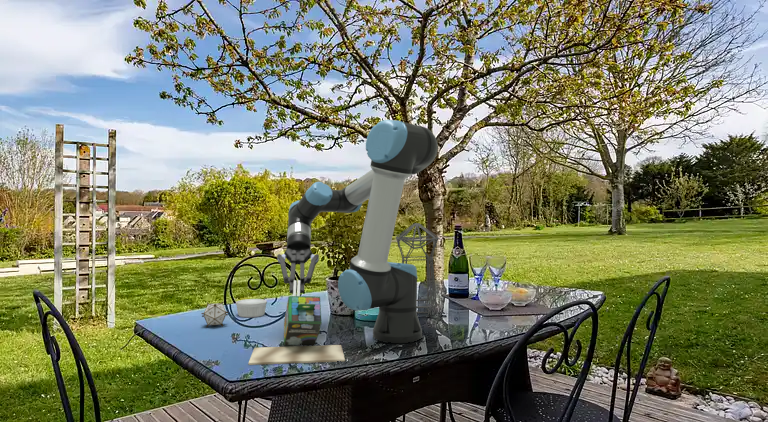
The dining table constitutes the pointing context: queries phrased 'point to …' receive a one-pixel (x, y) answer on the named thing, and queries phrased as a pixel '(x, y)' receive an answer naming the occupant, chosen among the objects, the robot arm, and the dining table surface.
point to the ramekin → (251, 307)
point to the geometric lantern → (421, 259)
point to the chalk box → (302, 320)
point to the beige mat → (296, 354)
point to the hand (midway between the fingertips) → (296, 301)
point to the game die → (214, 314)
